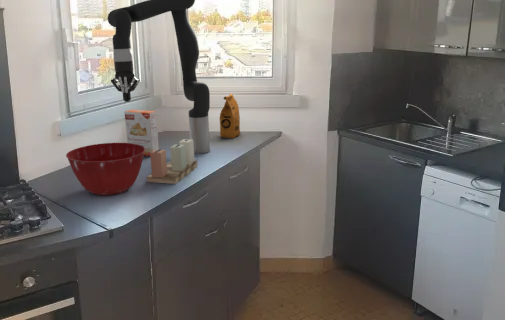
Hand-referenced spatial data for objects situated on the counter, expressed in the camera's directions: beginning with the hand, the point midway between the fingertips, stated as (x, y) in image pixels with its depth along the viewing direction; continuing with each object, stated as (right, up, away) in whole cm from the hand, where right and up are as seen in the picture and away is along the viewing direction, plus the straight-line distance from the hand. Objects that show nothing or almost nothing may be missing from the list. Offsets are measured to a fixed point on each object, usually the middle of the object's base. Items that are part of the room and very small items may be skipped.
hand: (127, 101), depth 216 cm
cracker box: (+1, -22, +28) cm, 36 cm away
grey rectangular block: (+25, -26, +4) cm, 36 cm away
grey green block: (+23, -29, -5) cm, 37 cm away
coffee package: (+41, -12, +60) cm, 74 cm away
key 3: (+16, -31, -12) cm, 37 cm away
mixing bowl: (-1, -36, -20) cm, 42 cm away
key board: (+20, -31, -3) cm, 37 cm away
